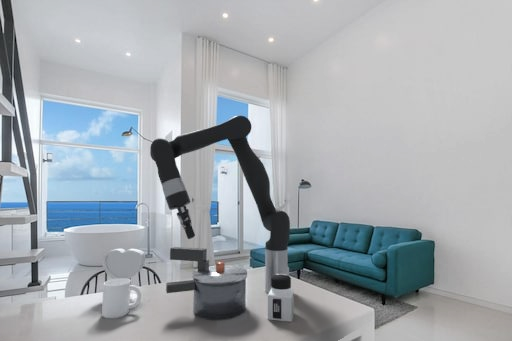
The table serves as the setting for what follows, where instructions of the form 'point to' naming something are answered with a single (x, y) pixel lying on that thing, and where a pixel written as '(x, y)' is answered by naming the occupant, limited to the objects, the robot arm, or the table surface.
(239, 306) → the cooker pot
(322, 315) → the table surface
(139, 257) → the heart sculpture
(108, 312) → the mug
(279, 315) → the container
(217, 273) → the cooker lid
